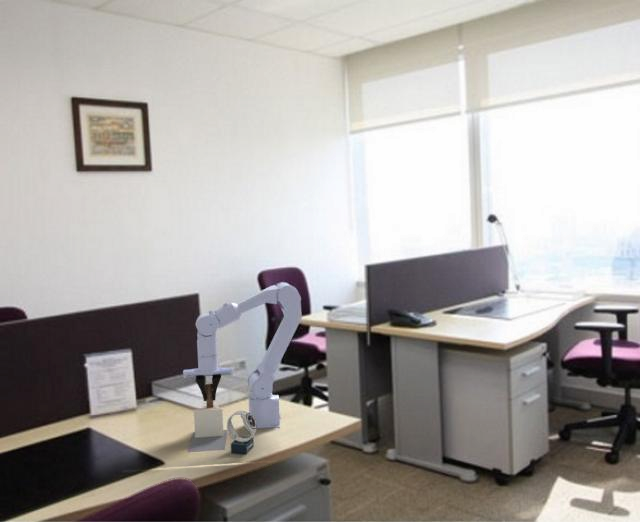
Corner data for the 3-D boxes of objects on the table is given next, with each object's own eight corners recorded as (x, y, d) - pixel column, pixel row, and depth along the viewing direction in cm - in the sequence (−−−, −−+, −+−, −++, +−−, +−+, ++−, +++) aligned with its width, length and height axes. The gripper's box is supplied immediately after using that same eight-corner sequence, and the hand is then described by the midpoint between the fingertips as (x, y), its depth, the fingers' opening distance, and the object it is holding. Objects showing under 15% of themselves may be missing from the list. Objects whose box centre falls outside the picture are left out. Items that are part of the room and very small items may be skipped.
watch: (253, 456, 163) (251, 416, 162) (225, 454, 165) (223, 414, 164) (260, 448, 168) (259, 409, 167) (233, 446, 170) (231, 408, 169)
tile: (223, 433, 178) (222, 407, 178) (223, 435, 177) (222, 408, 176) (195, 435, 178) (194, 408, 177) (195, 437, 176) (193, 410, 175)
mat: (227, 431, 182) (227, 429, 182) (224, 451, 167) (224, 449, 167) (193, 433, 181) (193, 431, 181) (187, 453, 166) (187, 451, 166)
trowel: (218, 414, 185) (217, 382, 184) (219, 418, 182) (217, 385, 181) (202, 416, 184) (200, 383, 183) (201, 419, 181) (200, 386, 180)
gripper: (233, 350, 185) (234, 394, 187) (184, 352, 184) (186, 397, 185) (231, 356, 178) (233, 401, 180) (181, 358, 177) (183, 404, 178)
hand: (209, 399), depth 182 cm, fingers closed on trowel, 2 cm apart
